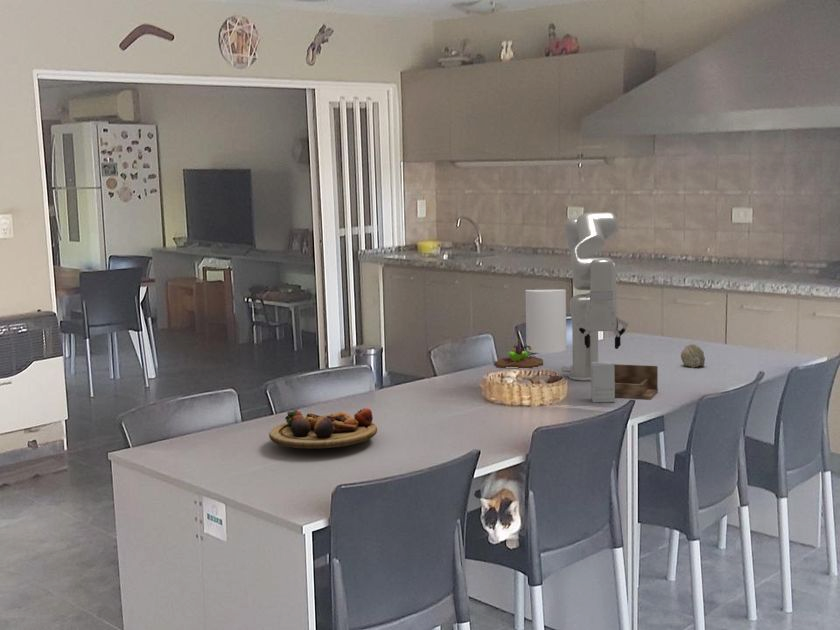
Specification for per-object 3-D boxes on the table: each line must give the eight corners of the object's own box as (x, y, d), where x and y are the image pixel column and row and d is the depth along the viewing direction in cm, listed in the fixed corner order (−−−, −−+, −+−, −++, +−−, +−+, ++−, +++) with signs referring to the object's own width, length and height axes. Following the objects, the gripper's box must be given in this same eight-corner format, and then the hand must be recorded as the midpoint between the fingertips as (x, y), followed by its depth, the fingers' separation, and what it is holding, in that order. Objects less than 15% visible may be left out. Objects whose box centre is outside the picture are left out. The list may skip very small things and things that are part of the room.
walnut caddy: (597, 396, 335) (597, 370, 334) (606, 389, 347) (606, 363, 346) (650, 399, 328) (650, 372, 327) (657, 391, 340) (657, 365, 338)
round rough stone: (707, 370, 376) (707, 345, 375) (684, 371, 376) (684, 345, 375) (700, 366, 385) (700, 341, 384) (678, 367, 386) (678, 342, 384)
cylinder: (565, 357, 417) (564, 291, 414) (524, 356, 421) (523, 291, 417) (567, 350, 434) (566, 287, 431) (528, 350, 438) (527, 288, 434)
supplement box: (612, 398, 332) (612, 361, 330) (615, 402, 325) (614, 364, 323) (590, 398, 333) (590, 361, 331) (592, 402, 325) (592, 365, 324)
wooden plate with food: (378, 422, 308) (377, 396, 307) (376, 448, 277) (375, 419, 276) (276, 425, 308) (275, 399, 307) (262, 452, 276) (261, 423, 275)
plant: (548, 363, 405) (547, 336, 404) (539, 371, 387) (538, 343, 386) (501, 362, 412) (500, 335, 410) (489, 370, 393) (489, 342, 392)
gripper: (573, 297, 324) (574, 348, 326) (625, 297, 318) (626, 350, 319) (579, 295, 331) (579, 345, 333) (630, 295, 324) (630, 347, 326)
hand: (602, 347), depth 326 cm, fingers open, 9 cm apart
